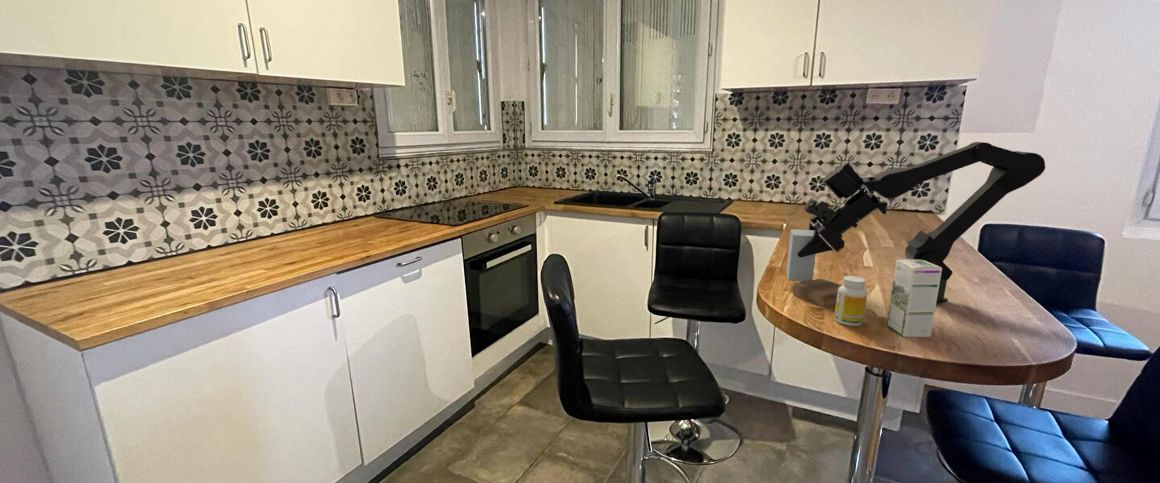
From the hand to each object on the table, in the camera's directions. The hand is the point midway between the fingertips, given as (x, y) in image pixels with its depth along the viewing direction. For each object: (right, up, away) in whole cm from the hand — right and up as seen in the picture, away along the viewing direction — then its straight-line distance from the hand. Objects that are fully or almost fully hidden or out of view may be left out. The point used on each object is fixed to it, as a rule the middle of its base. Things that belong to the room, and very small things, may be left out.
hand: (797, 253), depth 124 cm
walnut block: (+3, -11, -6) cm, 13 cm away
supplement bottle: (+2, -14, -20) cm, 25 cm away
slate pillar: (+1, -6, +2) cm, 7 cm away
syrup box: (+11, -16, -25) cm, 31 cm away
